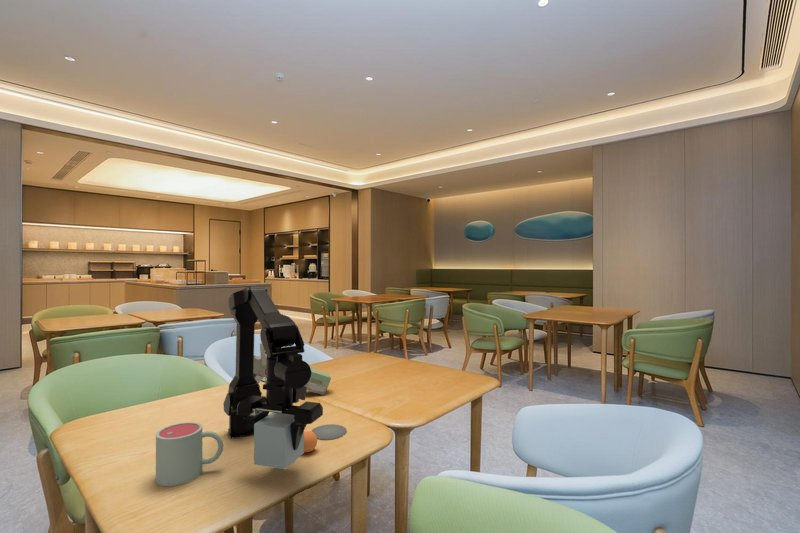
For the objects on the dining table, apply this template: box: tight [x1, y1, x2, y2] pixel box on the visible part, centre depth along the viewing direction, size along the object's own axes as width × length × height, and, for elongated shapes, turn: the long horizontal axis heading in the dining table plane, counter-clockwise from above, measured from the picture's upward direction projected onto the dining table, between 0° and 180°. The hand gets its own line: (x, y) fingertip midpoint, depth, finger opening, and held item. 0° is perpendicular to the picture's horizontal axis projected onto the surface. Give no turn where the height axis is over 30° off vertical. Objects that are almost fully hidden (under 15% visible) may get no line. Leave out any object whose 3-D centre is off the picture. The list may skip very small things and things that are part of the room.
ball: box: [304, 430, 318, 453], centre depth 101 cm, size 5×5×5 cm
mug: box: [155, 421, 224, 487], centre depth 90 cm, size 14×9×10 cm
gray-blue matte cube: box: [253, 412, 305, 470], centre depth 90 cm, size 8×8×9 cm
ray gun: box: [227, 342, 332, 396], centre depth 143 cm, size 7×32×20 cm, turn 110°
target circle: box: [311, 423, 347, 441], centre depth 113 cm, size 10×10×1 cm
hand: (279, 447), depth 90 cm, fingers closed on gray-blue matte cube, 8 cm apart
